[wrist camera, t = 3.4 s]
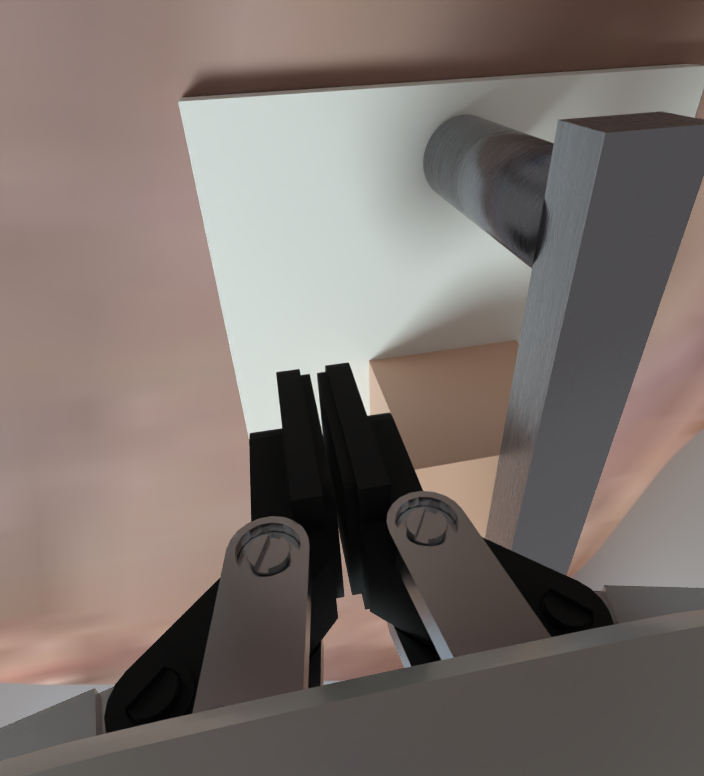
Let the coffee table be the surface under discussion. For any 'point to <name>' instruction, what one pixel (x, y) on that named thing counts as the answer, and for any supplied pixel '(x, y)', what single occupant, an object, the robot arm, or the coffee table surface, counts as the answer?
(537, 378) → the lever handle
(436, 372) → the tan block
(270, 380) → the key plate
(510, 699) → the robot arm
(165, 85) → the coffee table surface
